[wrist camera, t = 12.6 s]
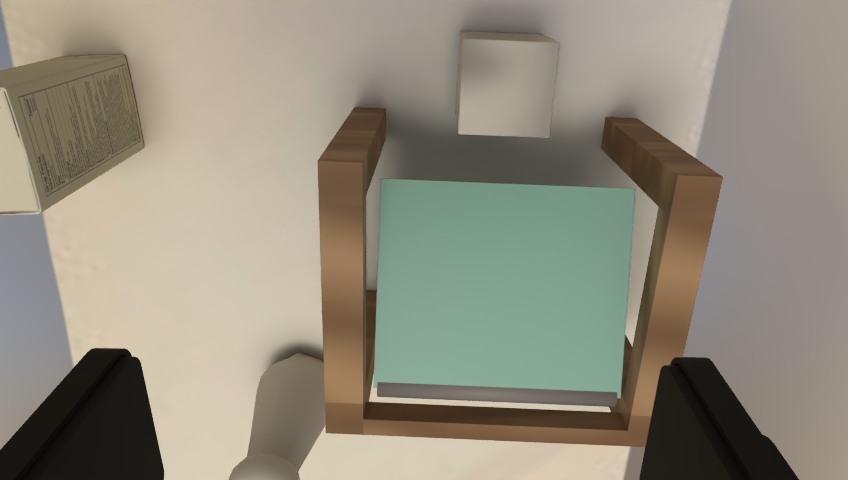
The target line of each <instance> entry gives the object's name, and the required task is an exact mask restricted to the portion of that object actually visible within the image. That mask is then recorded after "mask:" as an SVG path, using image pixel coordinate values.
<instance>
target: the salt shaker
mask: <svg viewBox="0 0 848 480" xmlns="http://www.w3.org/2000/svg"><path fill="white" fill-rule="evenodd" d="M325 425H326V420H325V387H324V363H323V361H322V360H321V359H318V358H315V357H312V356H308V355H305V354H302V353H299V352H298V353H297V354H295V355H293V356H291V357H289V358H287V359H284V360H281V361H279V362H276V363H274V364H273V365H272V366H271V367H270V368H269V369H268V370H267V371H266V372H264V374H263V375H262V376H261V379H260V382H259V386H258V389H257V394H256V401H255V408H254V416H253V423H252V430H251V437H250V443H249V449H248V454H247V457H246V458H245V459H244V460H243V461H241V462H240V463H239V464H238V465H237V466H236V467H235V468H234V469H233V471H232V473H231V475H230V477H229V480H300V478H299V474H298V471H299V469H300V467H301V465H302V464H303V462H304V460H305V458H306V457H307V455H308V453H309V452H310V450H311V448H312V447H313V445H314V443H315V442H316V440H317V438H318V437H319V435H320V433H321V432H322V430H323V428H324V427H325Z"/></svg>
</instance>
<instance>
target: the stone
mask: <svg viewBox="0 0 848 480" xmlns="http://www.w3.org/2000/svg"><path fill="white" fill-rule="evenodd" d="M559 47H560V43H559V42H557V41H555V40H553V39H551V38H549V37H547V36H545V35H543V34H521V33H495V32H470V31H460V44H459V62H458V80H457V98H456V120H457V128H458V134H466V135H491V136H516V137H540V138H549V136H550V127H551V118H552V109H553V100H554V92H555V83H556V74H557V65H558V56H559Z"/></svg>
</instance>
